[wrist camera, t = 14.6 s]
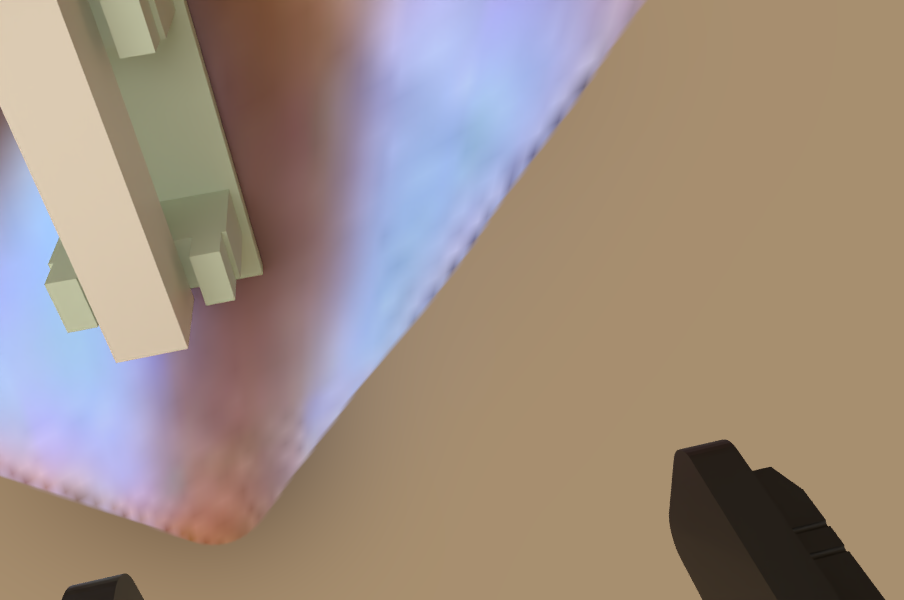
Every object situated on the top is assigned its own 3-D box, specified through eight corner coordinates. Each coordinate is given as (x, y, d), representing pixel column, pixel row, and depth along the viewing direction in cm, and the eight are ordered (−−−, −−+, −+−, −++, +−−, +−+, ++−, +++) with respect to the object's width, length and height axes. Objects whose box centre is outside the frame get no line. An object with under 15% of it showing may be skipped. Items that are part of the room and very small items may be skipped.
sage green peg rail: (-76, -98, 36) (-150, -67, 29) (149, -129, 37) (125, -106, 30) (99, 297, 48) (75, 380, 42) (262, 265, 49) (263, 341, 43)
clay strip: (-21, -44, 32) (-56, -19, 28) (68, -56, 32) (43, -33, 29) (128, 311, 42) (116, 362, 39) (193, 298, 43) (187, 348, 39)
